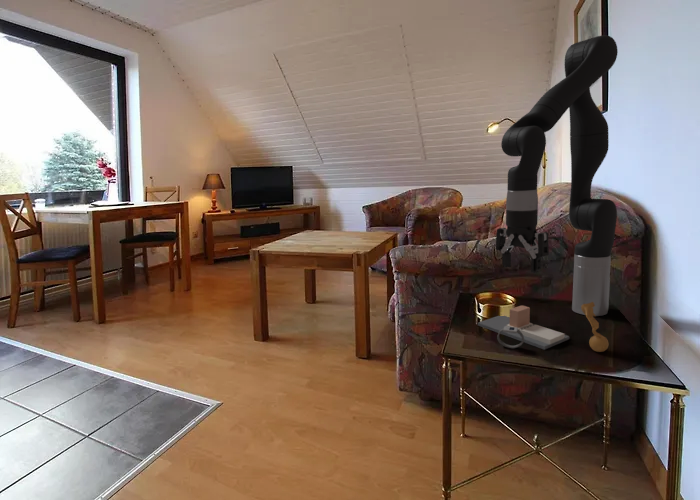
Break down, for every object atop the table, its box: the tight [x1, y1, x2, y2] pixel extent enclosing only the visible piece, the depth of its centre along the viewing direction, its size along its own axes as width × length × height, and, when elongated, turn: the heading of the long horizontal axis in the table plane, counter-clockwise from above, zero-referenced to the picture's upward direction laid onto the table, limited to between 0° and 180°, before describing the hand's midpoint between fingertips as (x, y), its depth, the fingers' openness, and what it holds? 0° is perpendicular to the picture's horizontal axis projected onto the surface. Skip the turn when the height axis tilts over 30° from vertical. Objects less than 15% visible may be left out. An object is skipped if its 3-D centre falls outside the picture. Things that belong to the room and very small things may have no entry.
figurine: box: [581, 302, 609, 353], centre depth 102 cm, size 8×6×12 cm
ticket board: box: [477, 315, 570, 351], centre depth 116 cm, size 10×21×2 cm, turn 31°
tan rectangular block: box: [506, 304, 534, 333], centre depth 116 cm, size 6×4×6 cm, turn 121°
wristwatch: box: [496, 326, 525, 349], centre depth 107 cm, size 6×3×5 cm, turn 62°
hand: (520, 269), depth 113 cm, fingers open, 8 cm apart
